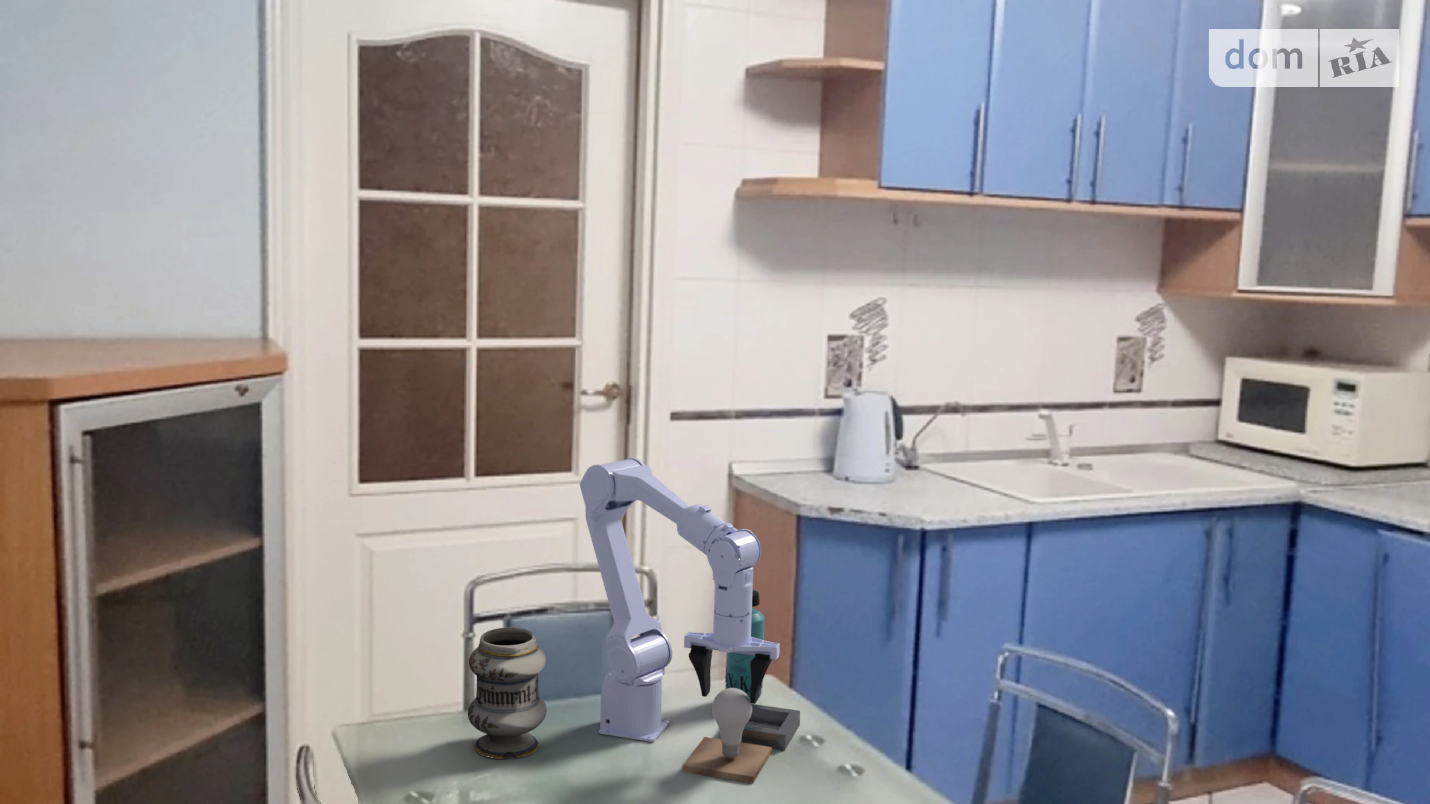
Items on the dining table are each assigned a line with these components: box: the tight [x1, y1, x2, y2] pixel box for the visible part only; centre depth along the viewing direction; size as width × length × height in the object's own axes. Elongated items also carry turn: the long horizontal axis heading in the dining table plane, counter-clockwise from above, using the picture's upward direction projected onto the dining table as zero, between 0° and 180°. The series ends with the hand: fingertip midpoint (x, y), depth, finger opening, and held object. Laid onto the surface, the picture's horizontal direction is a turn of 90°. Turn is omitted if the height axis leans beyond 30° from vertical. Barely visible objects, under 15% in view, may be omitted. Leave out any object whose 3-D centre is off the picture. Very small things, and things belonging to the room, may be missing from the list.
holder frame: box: [741, 703, 801, 751], centre depth 195 cm, size 10×10×2 cm
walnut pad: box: [682, 736, 772, 784], centre depth 184 cm, size 11×11×1 cm
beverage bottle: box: [724, 589, 766, 700], centre depth 206 cm, size 6×7×20 cm
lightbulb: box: [711, 688, 752, 759], centre depth 182 cm, size 6×6×11 cm
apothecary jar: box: [467, 626, 548, 760], centre depth 186 cm, size 12×12×18 cm
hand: (729, 697), depth 183 cm, fingers open, 7 cm apart
